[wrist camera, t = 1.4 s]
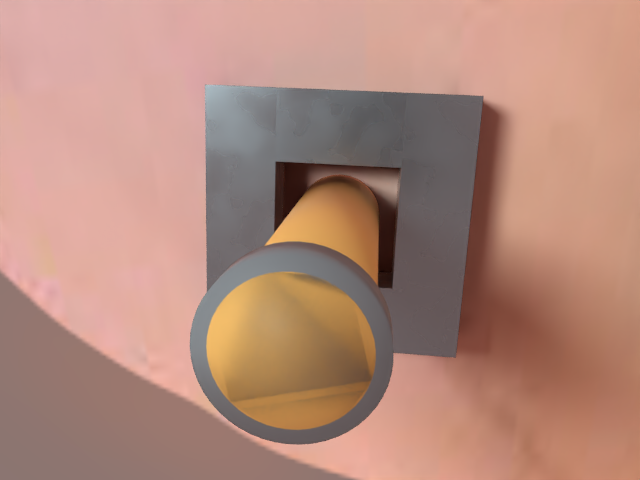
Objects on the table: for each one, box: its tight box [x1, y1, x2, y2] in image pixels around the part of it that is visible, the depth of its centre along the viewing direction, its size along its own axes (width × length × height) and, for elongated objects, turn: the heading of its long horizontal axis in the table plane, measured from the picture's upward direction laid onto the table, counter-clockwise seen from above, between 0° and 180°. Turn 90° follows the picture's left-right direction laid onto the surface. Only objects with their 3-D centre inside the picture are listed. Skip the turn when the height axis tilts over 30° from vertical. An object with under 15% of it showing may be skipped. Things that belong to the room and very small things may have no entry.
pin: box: [190, 175, 393, 444], centre depth 21 cm, size 5×5×16 cm
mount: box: [205, 85, 483, 358], centre depth 28 cm, size 12×12×2 cm
